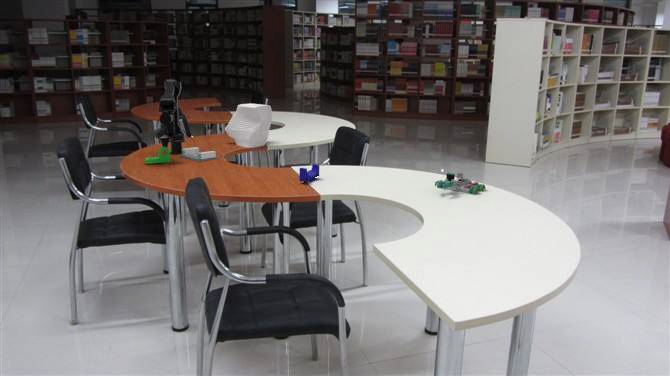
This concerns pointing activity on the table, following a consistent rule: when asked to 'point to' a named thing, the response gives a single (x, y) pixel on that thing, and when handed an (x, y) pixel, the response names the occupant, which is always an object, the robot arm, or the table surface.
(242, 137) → the white faceted sculpture
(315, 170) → the cable clip
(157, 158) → the mechanical part
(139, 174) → the table surface
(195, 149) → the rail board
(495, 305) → the table surface
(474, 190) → the robot kit
